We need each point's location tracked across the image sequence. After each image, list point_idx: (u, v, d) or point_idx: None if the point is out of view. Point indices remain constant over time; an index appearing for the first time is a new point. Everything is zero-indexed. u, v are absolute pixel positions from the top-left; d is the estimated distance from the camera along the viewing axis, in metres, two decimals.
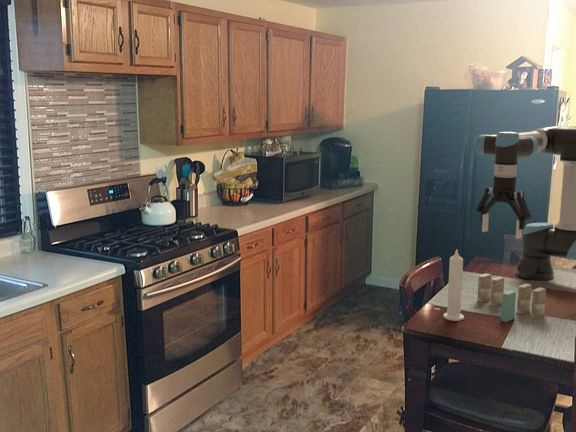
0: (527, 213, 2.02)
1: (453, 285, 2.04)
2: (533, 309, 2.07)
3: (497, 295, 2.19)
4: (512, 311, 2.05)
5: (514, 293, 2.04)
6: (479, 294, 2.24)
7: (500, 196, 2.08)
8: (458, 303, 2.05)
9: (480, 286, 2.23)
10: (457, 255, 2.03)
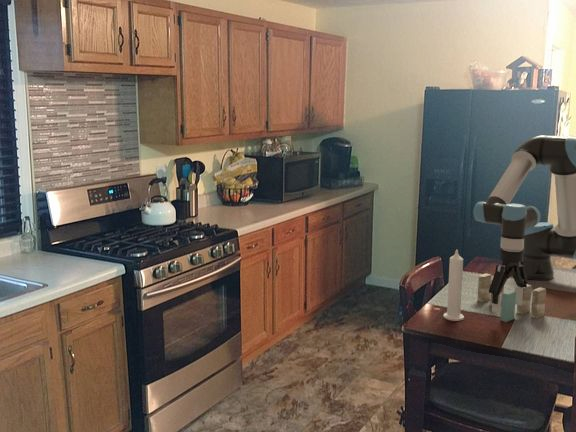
0: (492, 287, 1.97)
1: (453, 285, 2.04)
2: (533, 309, 2.07)
3: None
4: (512, 311, 2.05)
5: (514, 293, 2.04)
6: (479, 294, 2.24)
7: None
8: (458, 303, 2.05)
9: (480, 286, 2.23)
10: (457, 255, 2.03)
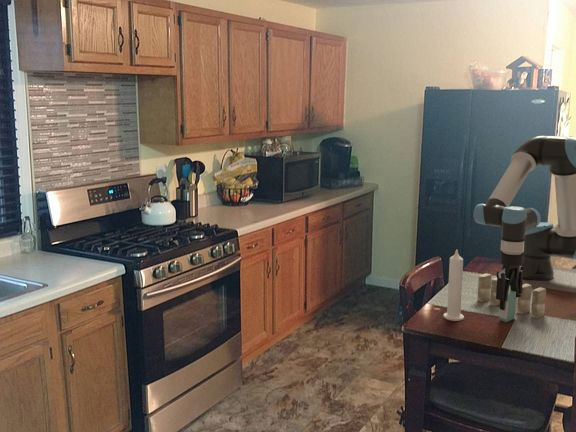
0: (498, 295, 2.00)
1: (453, 285, 2.04)
2: (533, 309, 2.07)
3: None
4: (512, 311, 2.05)
5: (514, 293, 2.04)
6: (479, 294, 2.24)
7: None
8: (458, 303, 2.05)
9: (480, 286, 2.23)
10: (457, 255, 2.03)
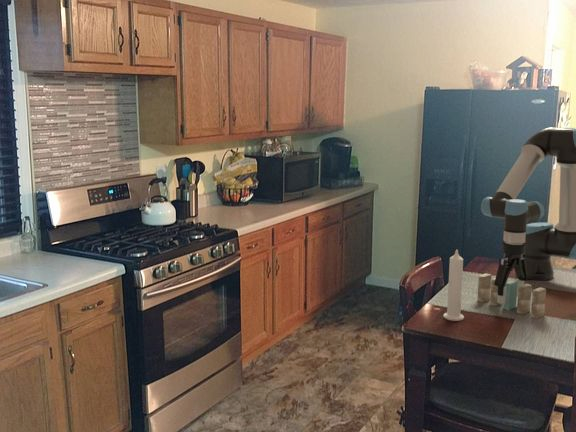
0: (497, 280, 2.10)
1: (453, 285, 2.04)
2: (533, 309, 2.07)
3: (497, 295, 2.19)
4: (514, 300, 2.16)
5: (516, 283, 2.15)
6: (479, 294, 2.24)
7: None
8: (458, 303, 2.05)
9: (480, 286, 2.23)
10: (457, 255, 2.03)
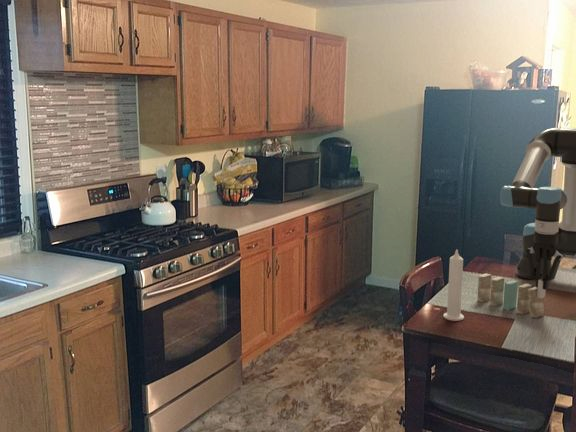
0: (553, 275, 2.02)
1: (453, 285, 2.04)
2: (532, 308, 2.07)
3: (497, 295, 2.19)
4: (514, 300, 2.16)
5: (516, 283, 2.15)
6: (479, 294, 2.24)
7: (541, 252, 2.03)
8: (458, 303, 2.05)
9: (480, 286, 2.23)
10: (457, 255, 2.03)
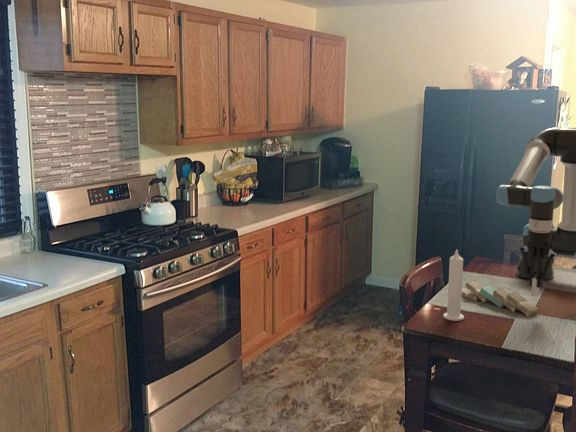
0: (547, 273, 2.04)
1: (453, 285, 2.04)
2: (521, 309, 2.10)
3: None
4: None
5: (488, 286, 2.25)
6: (470, 298, 2.28)
7: (535, 251, 2.05)
8: (458, 303, 2.05)
9: (463, 295, 2.30)
10: (457, 255, 2.03)
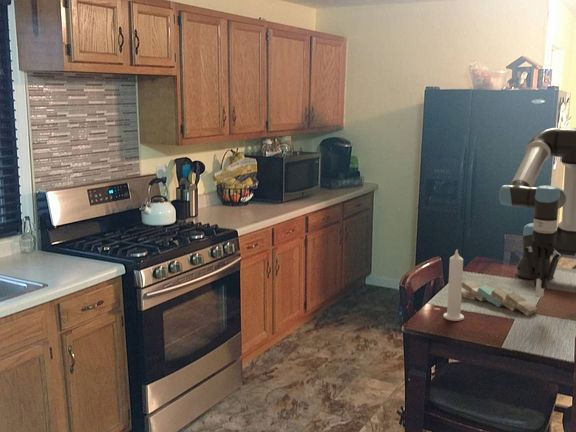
0: (552, 274, 2.02)
1: (453, 285, 2.04)
2: (521, 309, 2.11)
3: (476, 290, 2.25)
4: None
5: (485, 285, 2.25)
6: (468, 297, 2.28)
7: (539, 251, 2.04)
8: (458, 303, 2.05)
9: (461, 294, 2.31)
10: (457, 255, 2.03)
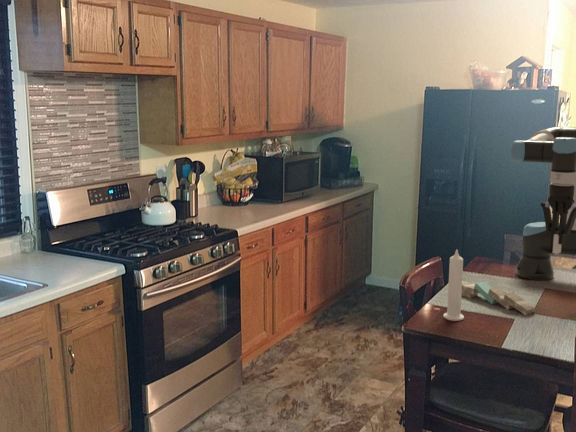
0: (570, 229, 1.95)
1: (453, 285, 2.04)
2: (519, 308, 2.11)
3: (467, 285, 2.31)
4: None
5: (484, 282, 2.29)
6: (463, 295, 2.31)
7: (557, 205, 1.97)
8: (458, 303, 2.05)
9: None
10: (457, 255, 2.03)
